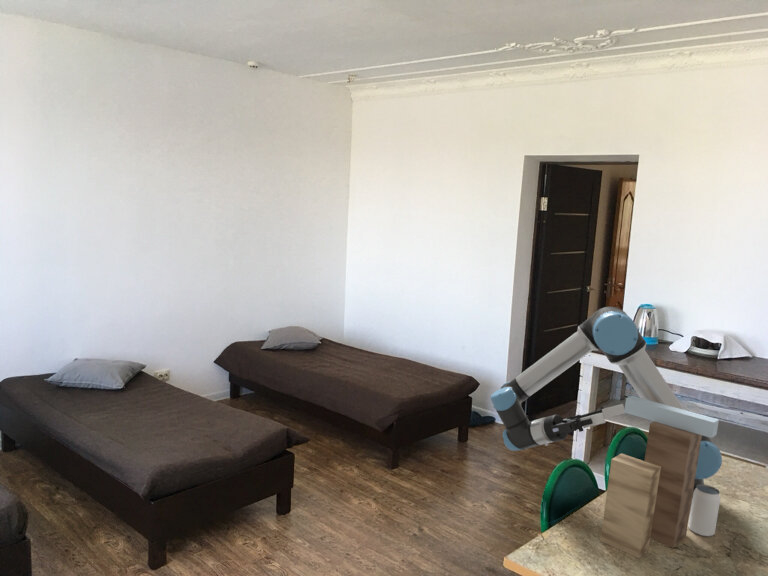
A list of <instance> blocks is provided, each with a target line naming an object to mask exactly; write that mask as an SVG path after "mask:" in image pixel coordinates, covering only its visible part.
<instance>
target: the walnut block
mask: <svg viewBox="0 0 768 576" xmlns="http://www.w3.org/2000/svg"><path fill="white" fill-rule="evenodd" d="M648 428H649V429H648V436H647V442H646V446H645V447H646V448H645V455H644V461H645V462H648V463H651V464H654V465H657V466H660V467H661V470H660V477H659V483H658V490H657V497H656V503H655V510H654V517H653V523H652V530H651V536H650V540H652V541H655V542H658V543H660V544H662V545H665V546H667V547H669V548H673V549H674V548H675V547H676V545H678V544H679V543H680V542H681V541H682V540H683V539H684V538H685V537H686V536H687V530H688V524H689V517H690V511H691V505H692V495H693V488H694V482H695V476H696V469H697V463H698V457H699V451H700V444H701V438H702V435H699V434H696V433H693V432H689V431H686V430H682V429H679V428H675V427H672V426H669V425H665V424H662V423H658V422H655V421H652V422H650V423H649V427H648Z"/></svg>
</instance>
